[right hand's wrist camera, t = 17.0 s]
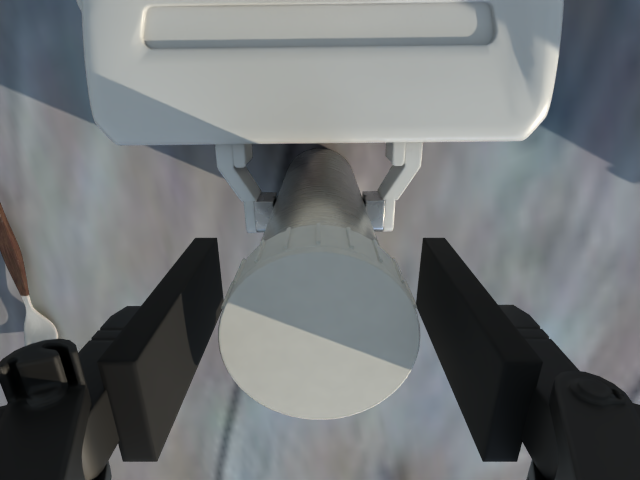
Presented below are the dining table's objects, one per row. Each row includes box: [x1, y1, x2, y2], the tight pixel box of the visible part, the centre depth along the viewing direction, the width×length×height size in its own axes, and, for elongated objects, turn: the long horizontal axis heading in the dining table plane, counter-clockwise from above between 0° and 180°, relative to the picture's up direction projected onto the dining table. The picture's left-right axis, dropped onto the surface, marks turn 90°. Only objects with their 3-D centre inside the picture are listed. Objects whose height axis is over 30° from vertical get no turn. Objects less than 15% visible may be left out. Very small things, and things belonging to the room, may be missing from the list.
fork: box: [0, 203, 58, 346], centre depth 28 cm, size 3×16×2 cm, turn 0°
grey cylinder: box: [261, 148, 379, 245], centre depth 19 cm, size 5×5×17 cm
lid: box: [218, 223, 420, 420], centre depth 11 cm, size 5×5×2 cm
